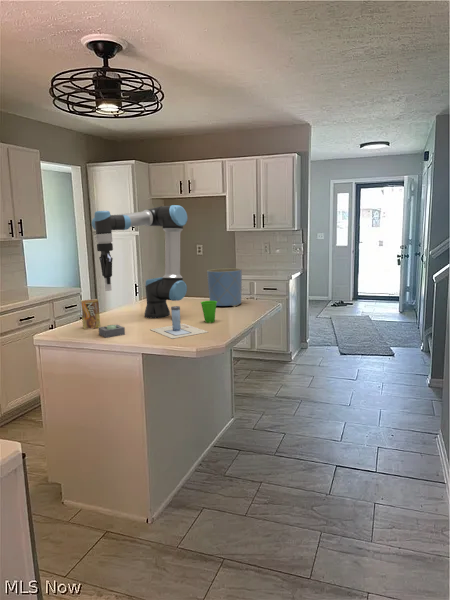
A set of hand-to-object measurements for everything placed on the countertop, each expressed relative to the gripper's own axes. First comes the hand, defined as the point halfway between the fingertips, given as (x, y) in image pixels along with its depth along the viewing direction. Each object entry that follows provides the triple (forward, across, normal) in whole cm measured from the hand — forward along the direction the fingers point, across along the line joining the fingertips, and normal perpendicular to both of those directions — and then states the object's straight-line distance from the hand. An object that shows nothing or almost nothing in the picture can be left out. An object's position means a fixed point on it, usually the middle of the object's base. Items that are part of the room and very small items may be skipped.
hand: (108, 290), depth 228 cm
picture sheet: (+22, +17, +29) cm, 40 cm away
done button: (+22, 0, 0) cm, 22 cm away
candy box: (+23, -24, -3) cm, 33 cm away
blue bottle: (+22, +16, +28) cm, 39 cm away
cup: (+23, +8, +53) cm, 58 cm away
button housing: (+22, 0, 0) cm, 22 cm away
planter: (+23, -31, +89) cm, 97 cm away
